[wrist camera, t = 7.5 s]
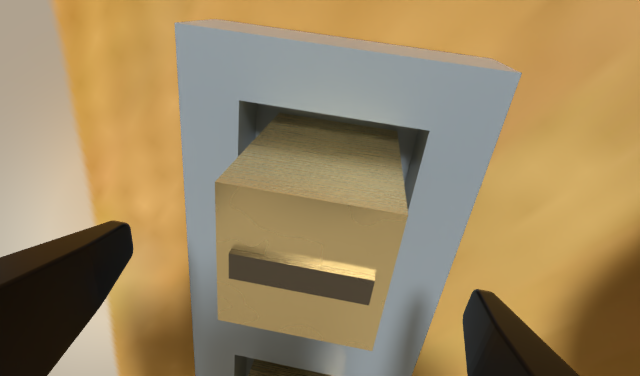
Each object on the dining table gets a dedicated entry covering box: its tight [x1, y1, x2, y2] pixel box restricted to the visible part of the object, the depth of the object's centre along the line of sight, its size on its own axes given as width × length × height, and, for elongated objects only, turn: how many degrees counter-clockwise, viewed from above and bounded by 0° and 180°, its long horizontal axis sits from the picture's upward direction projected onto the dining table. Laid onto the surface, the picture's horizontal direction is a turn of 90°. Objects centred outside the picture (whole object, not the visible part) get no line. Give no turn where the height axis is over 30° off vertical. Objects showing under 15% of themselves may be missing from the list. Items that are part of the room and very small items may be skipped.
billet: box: [215, 113, 408, 351], centre depth 12 cm, size 4×4×6 cm
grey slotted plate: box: [175, 19, 522, 376], centre depth 17 cm, size 22×10×3 cm, turn 173°
